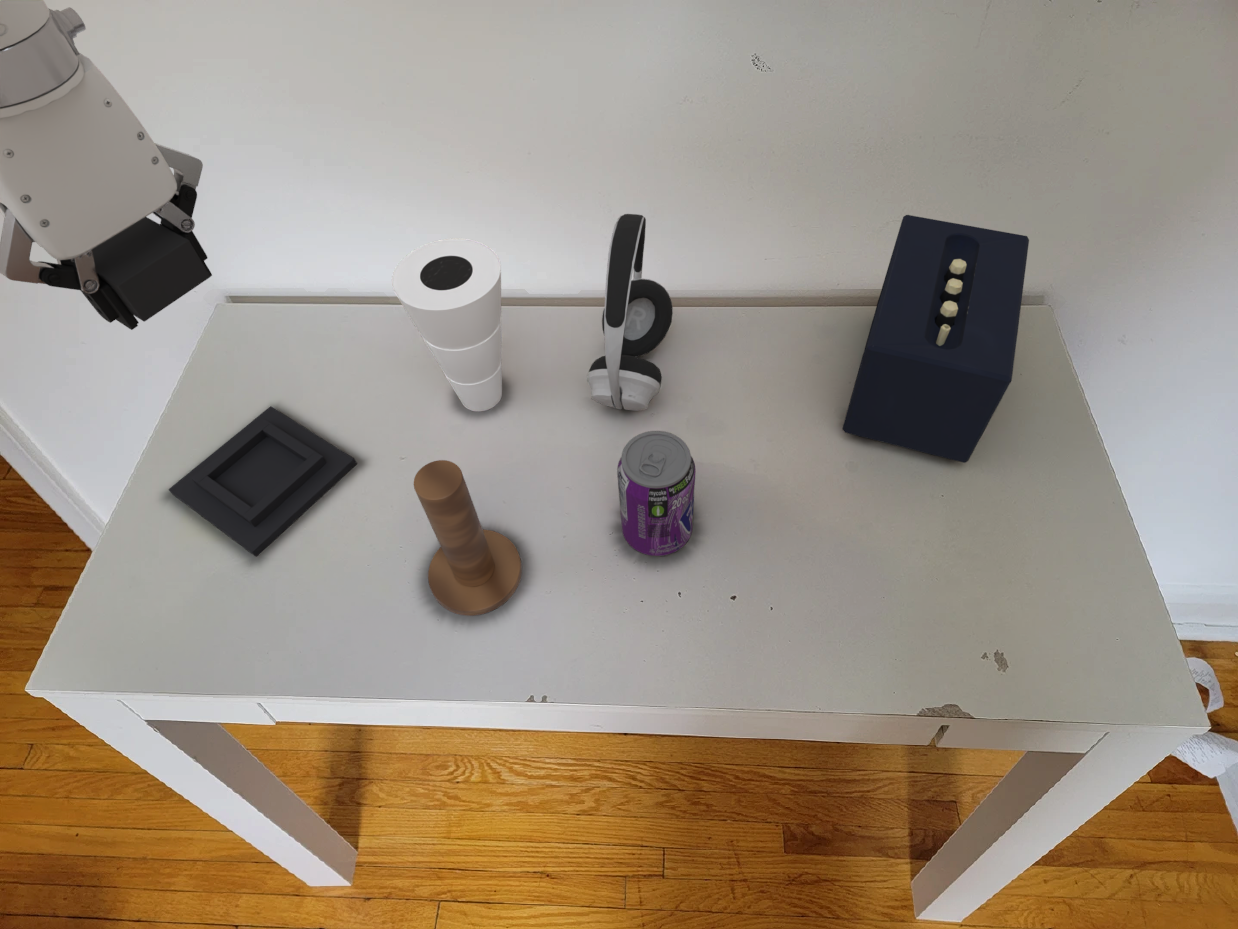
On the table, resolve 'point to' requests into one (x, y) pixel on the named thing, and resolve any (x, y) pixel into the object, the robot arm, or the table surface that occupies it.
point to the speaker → (940, 338)
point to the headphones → (629, 323)
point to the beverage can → (656, 492)
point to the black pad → (149, 267)
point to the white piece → (457, 313)
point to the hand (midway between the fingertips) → (161, 294)
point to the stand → (464, 546)
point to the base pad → (263, 479)
